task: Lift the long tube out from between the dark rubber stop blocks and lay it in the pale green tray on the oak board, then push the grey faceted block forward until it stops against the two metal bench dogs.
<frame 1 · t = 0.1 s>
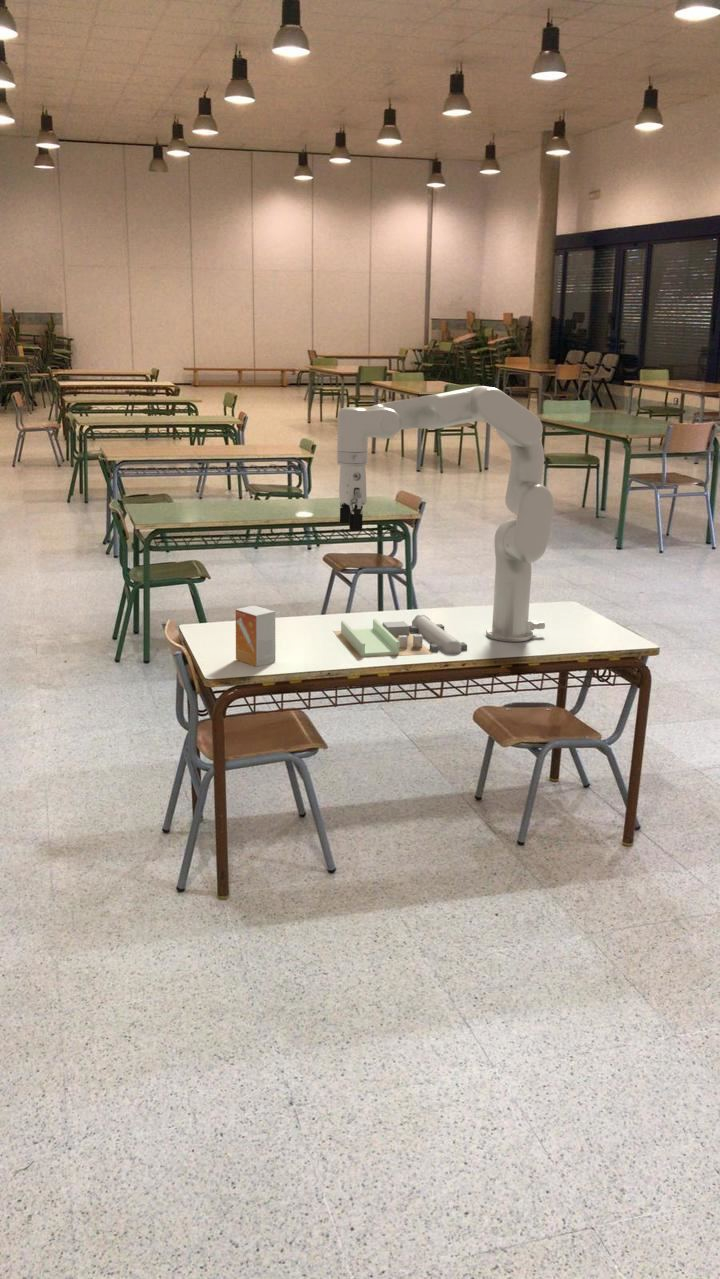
hand: (350, 526, 274), 31 cm above the table, tool pointing down, fingers open, 9 cm apart
bench dogs: (410, 647, 278), resting on board
board: (381, 646, 282), on the table
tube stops: (436, 644, 285), on the table
tray: (369, 643, 280), resting on board
tube: (437, 646, 285), on the table
grey faceted block: (395, 633, 290), point 1 cm above the table, touching board
small box: (255, 661, 267), on the table
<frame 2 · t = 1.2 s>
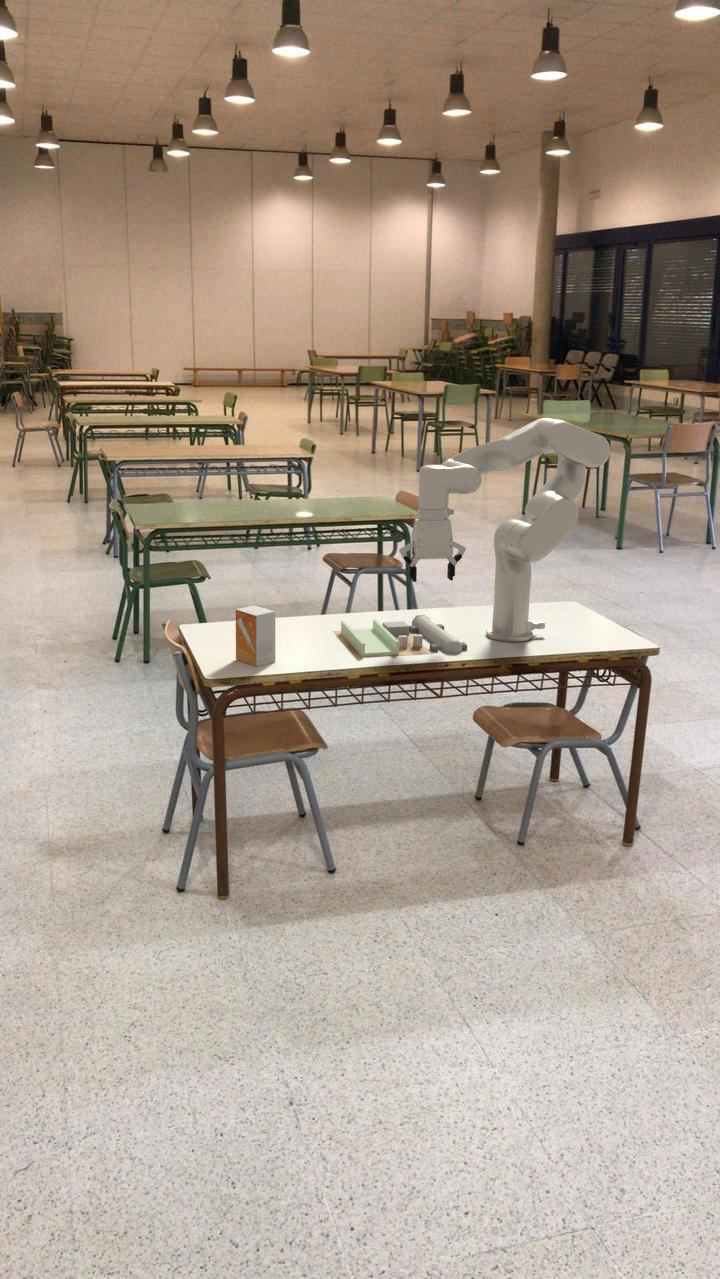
hand: (432, 580, 280), 17 cm above the table, tool pointing down, fingers open, 9 cm apart
nothing on the table moved.
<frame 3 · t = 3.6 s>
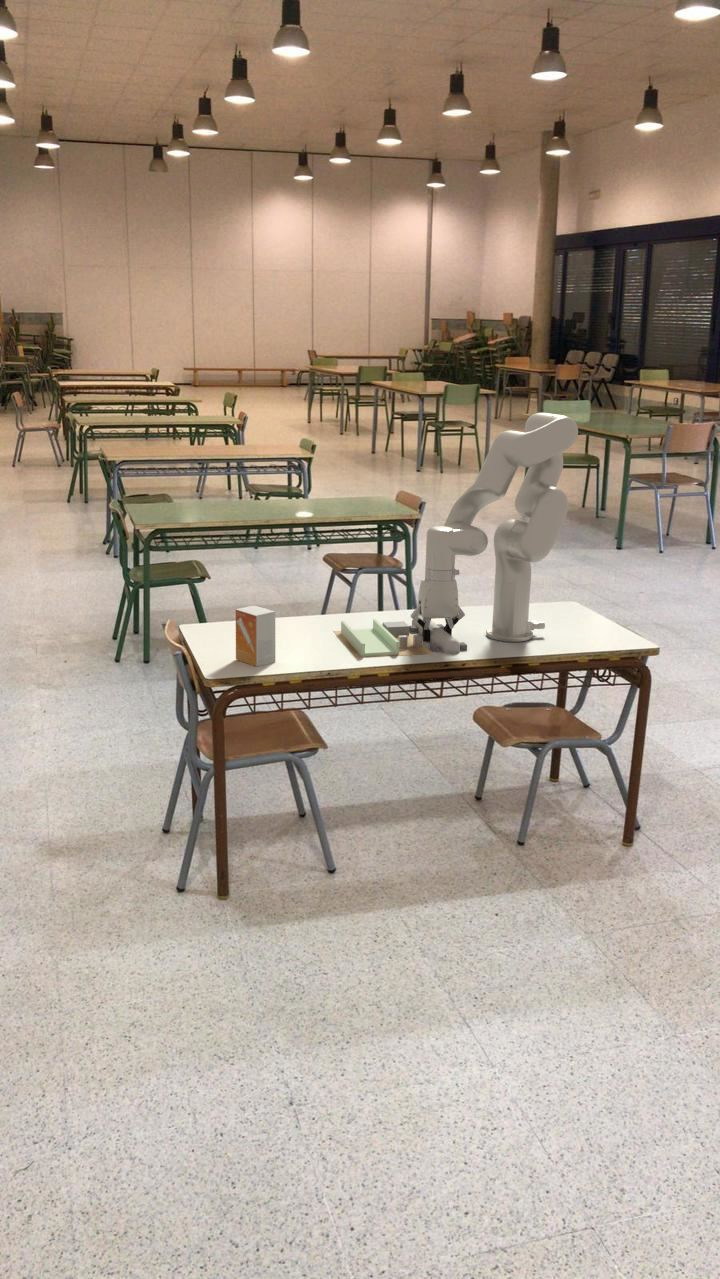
hand: (436, 641, 285), 1 cm above the table, tool pointing down, fingers closed on tube, 4 cm apart
tube: (436, 645, 285), on the table, touching gripper
everything else where it was.
when the fingers open (4 cm above the table, at t = 9.4 s): tube drops 1 cm, resting on tray.
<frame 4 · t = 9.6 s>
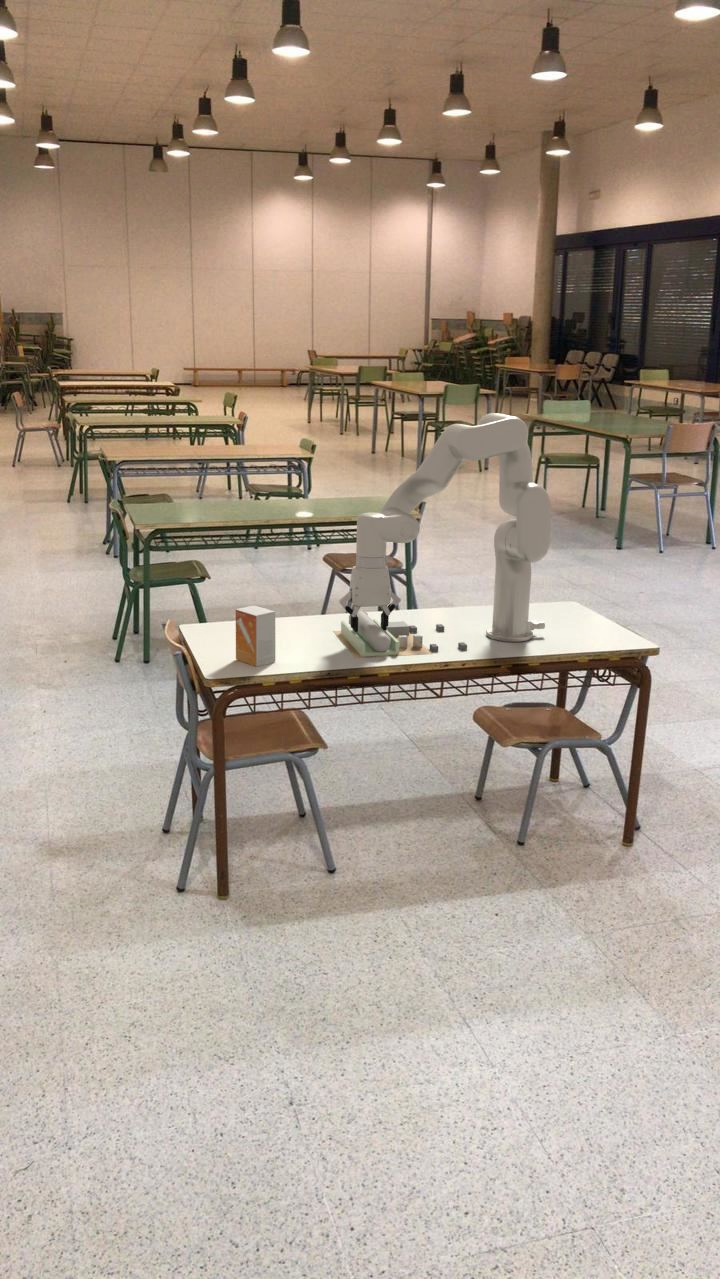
hand: (369, 629, 279), 5 cm above the table, tool pointing down, fingers open, 7 cm apart
tube: (370, 641, 280), point 2 cm above the table, touching tray
everything else where it was.
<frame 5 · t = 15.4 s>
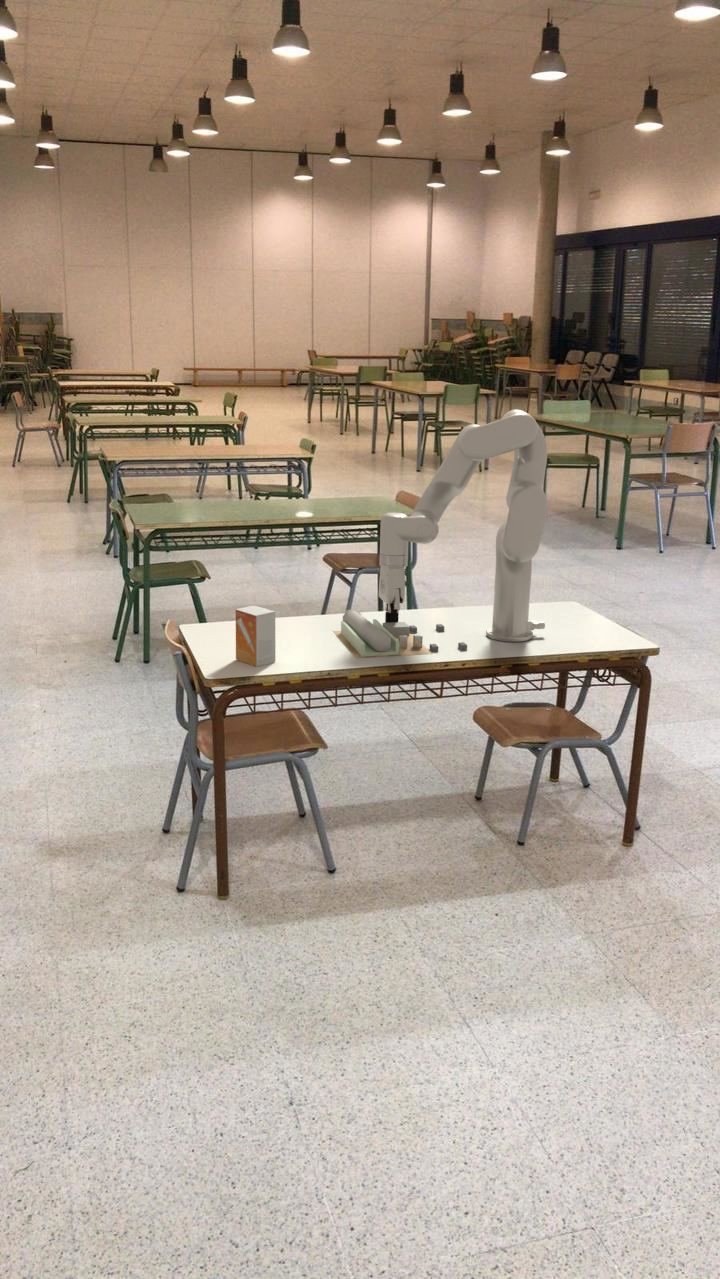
hand: (391, 626, 293), 2 cm above the table, tool pointing down, fingers closed
grey faceted block: (395, 633, 289), point 1 cm above the table, touching board, gripper
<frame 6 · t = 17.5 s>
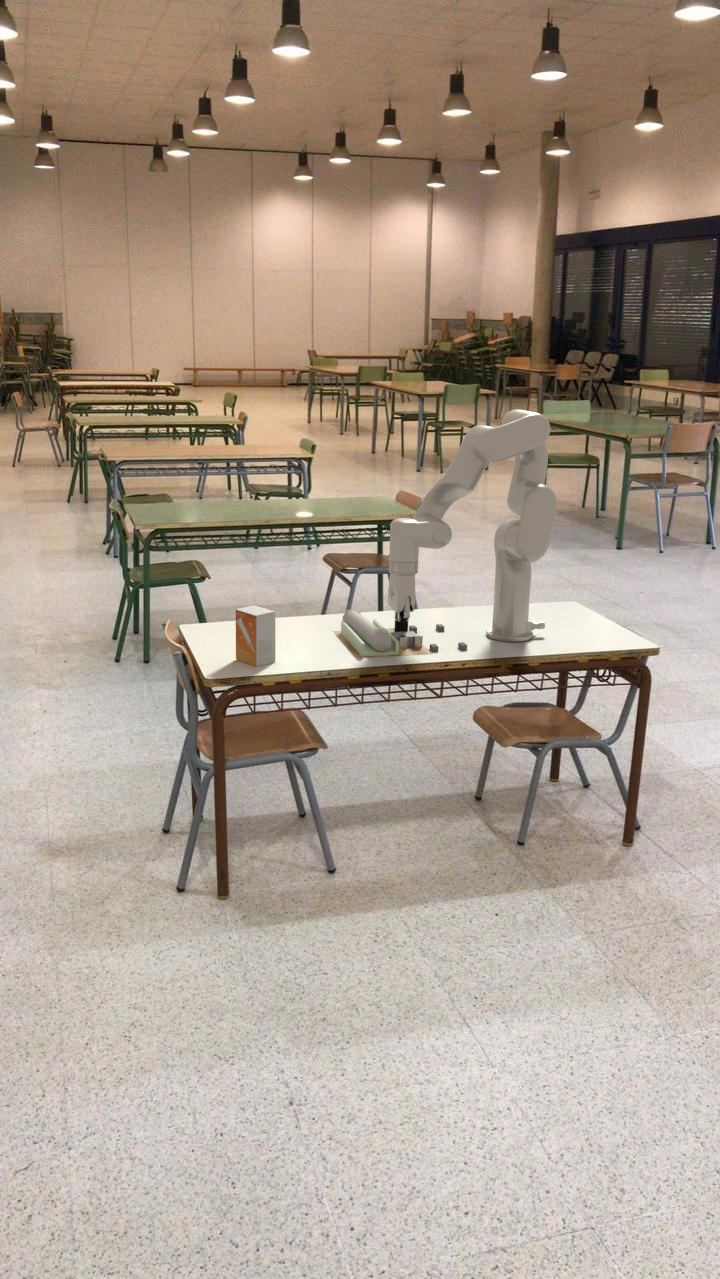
hand: (401, 635, 284), 2 cm above the table, tool pointing down, fingers closed
grey faceted block: (404, 643, 281), point 1 cm above the table, touching board, gripper
everything else where it was.
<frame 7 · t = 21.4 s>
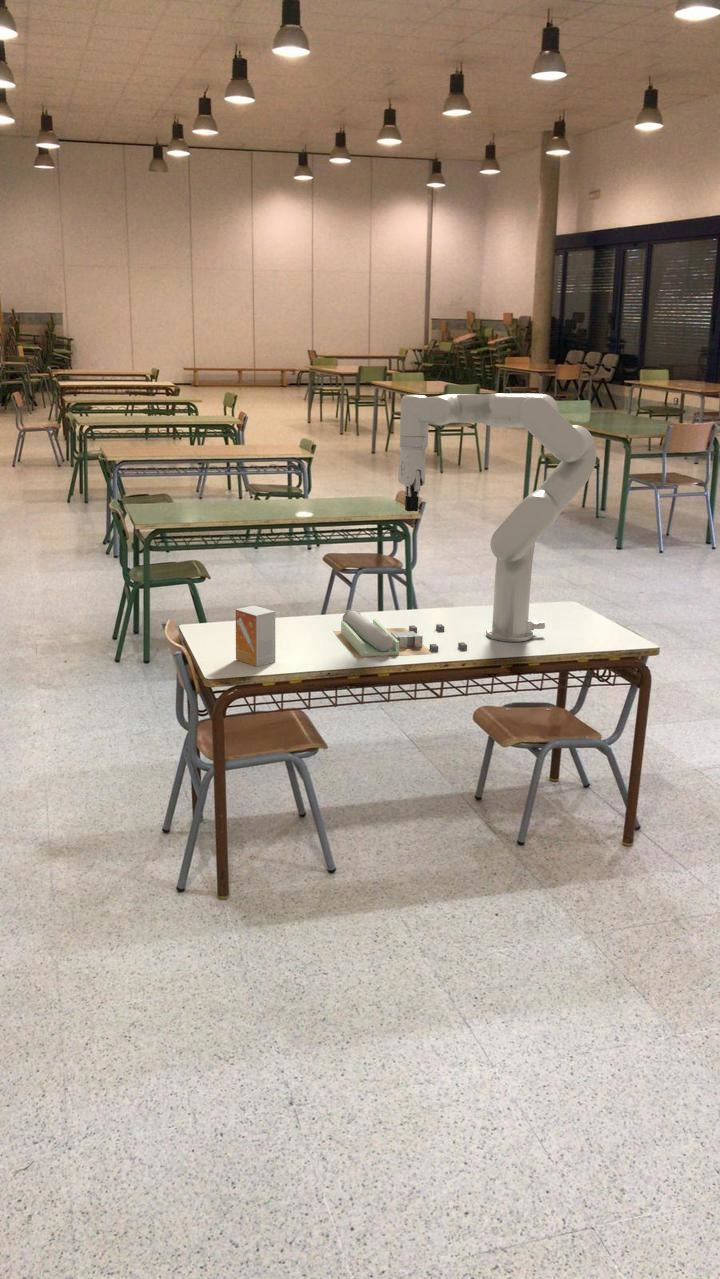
hand: (411, 510, 294), 32 cm above the table, tool pointing down, fingers closed
grey faceted block: (404, 643, 281), point 1 cm above the table, touching board
everything else where it was.
at the end: tube inside the target area on the tray (0.2 cm from its centre), point 0.6 cm above the tray's base; grey faceted block 0.5 cm from the target spot, point 1.2 cm above the table; the gripper is holding nothing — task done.
